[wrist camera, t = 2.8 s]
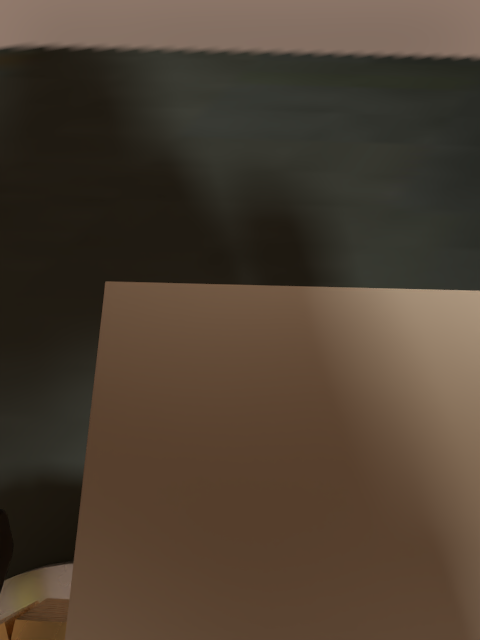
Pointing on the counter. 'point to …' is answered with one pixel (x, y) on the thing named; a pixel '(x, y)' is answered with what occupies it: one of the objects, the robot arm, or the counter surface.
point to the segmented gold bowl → (36, 603)
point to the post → (281, 466)
